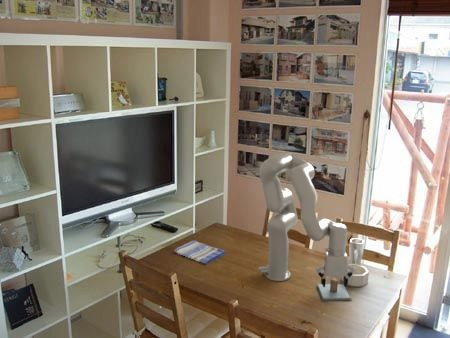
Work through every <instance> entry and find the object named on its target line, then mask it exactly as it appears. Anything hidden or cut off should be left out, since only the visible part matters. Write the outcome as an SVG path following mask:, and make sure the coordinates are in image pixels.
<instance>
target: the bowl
mask: <svg viewBox="0 0 450 338" xmlns="http://www.w3.org/2000/svg"><path fill="white" fill-rule="evenodd" d="M348 265H349V266H351V267H353V268H354V269H355V271H354V272H353V274H352V276H350V277H349V279H348V284H347V286H350V287H358V288H359V287H364V286H365V285H366V284H368V283H369V274H370V271H369V270H368V268H367V267H366V266H363V265H358V264H349V263H348ZM348 272H350V270H349V269H348ZM340 279H341V281H342V282H343V279H344V276H340Z"/></svg>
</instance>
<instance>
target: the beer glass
mask: <svg viewBox="0 0 450 338" xmlns="http://www.w3.org/2000/svg"><path fill="white" fill-rule="evenodd" d="M364 249H365V242H364V240H363V239H361V238H356V237H355V238H351V239H350V240H349V245H348V255H349V262H348V264H358V265H361V261H362V259H363V258H362V257H363V255H364ZM361 266H362V265H361Z"/></svg>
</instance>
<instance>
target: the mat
mask: <svg viewBox="0 0 450 338" xmlns="http://www.w3.org/2000/svg"><path fill="white" fill-rule="evenodd" d="M316 289H317V291H318V293H319V295H320V298H321V301H323V302H328V301H329V302H330V301H331V302H335V301H336V302H340V301H341V302H344V301H345V302H349V301H353V300H352V297H351V296H350V293H349V291H348V290H347V292H348V294H349V296H350V299H323V297H322V295H321V293H320V290H319V288H318V284H316Z"/></svg>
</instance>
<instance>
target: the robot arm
mask: <svg viewBox="0 0 450 338" xmlns="http://www.w3.org/2000/svg"><path fill="white" fill-rule="evenodd" d="M287 171H288V177H289V181H290V183H291V185H292V187H293V189H294V192H295V193H296V196H297V198H298V201H299V204H300V207H299V208H300V210H299V211H300V218H301V223H302V225H303V227H304V230H305V232H306V234H307V236H308V237H309V238H310V240H312V241H314V242H320V241H322V240H324V238H326V237H328V245H327V247H326V248H324V251H325V252H326V253H325V257H324V262H323V264H322V265H320V266H318V267H316V268H315V270H316V273H317V274H318V276H319V277H320V278H321V279H320V284H322V285H323V287H325V284H326V281H327V280H326V278H327V277H341V276H344V279H343V281H342V284H344V286H345V288H347V286H348V285H347V284H348V279H349V277H350V276H352V274H353V272H354V271H355V269H354V268H353V267H351V266H349V265H348V264H349V260H348V254H347V253H346V252H347V251H346V248H347V235H348V227H347V226H346V224H344V223H340V222H335V221H332V220H330V219H327V218H320V219H317V215H316V214H317V213H316V207H317V203H318V199H319V195H318V192H317V191H316V189H315V186H314V184H313V181H312V180H313V179H314V177H315V174H316V173H315V167H313V166H312V164H310V163H309V162H307V160H304V159H302V158H300V157H298V156H297V155H294V154H293V153H290V152H281V153H278V154H275V155H273V156H270V157H269V158H267V159H265V160H264V161H263V162H262V164H261V165H260V167H259V176H260V180H261V184H262V190H263V194H264V195H263V196H264V201H265V205H266V207H267V210H269V212H272V213H275V214H274V215H272V216H271V217H270V218H269V219H268V222H267V232H268V254H267V255H268V256H267V257H268V258H267V259H268V263H267V264H266V265H265V266H258V272H260V271H261V273H264V276H265V277H266V278H267V279H268V280H270V281H274V282H284V281H287V280H289V279H290V278H291V272H290V270H289V269H288V267H289V265H288V264H289V243H290V242H289V237H288V231H289V230H291V229H293V228H294V227H295V226H296V225H297V223H298V213H297V207H296V203H295V198H294V195H293V192H292V191H291V190H290V189H288V188H286V187H282V183H281V181H280V178H279V176H278V175H280V174H282V173H284V172H287ZM277 212H278V213H277ZM348 269H349V270H350V272H348ZM322 270H323V272H321V271H322Z"/></svg>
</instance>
